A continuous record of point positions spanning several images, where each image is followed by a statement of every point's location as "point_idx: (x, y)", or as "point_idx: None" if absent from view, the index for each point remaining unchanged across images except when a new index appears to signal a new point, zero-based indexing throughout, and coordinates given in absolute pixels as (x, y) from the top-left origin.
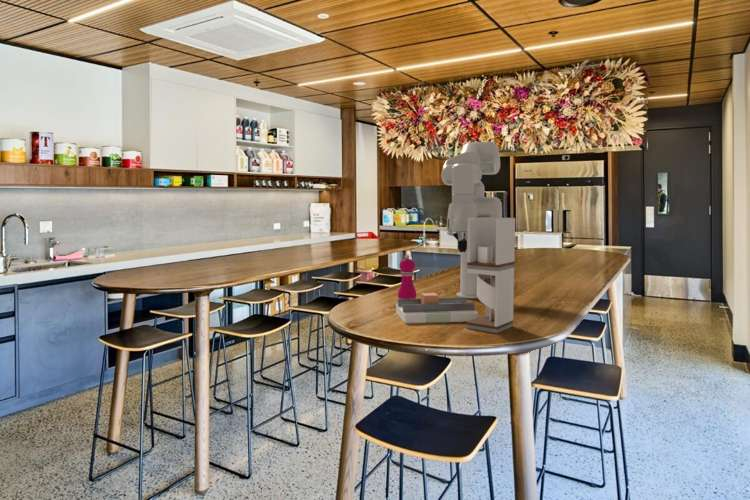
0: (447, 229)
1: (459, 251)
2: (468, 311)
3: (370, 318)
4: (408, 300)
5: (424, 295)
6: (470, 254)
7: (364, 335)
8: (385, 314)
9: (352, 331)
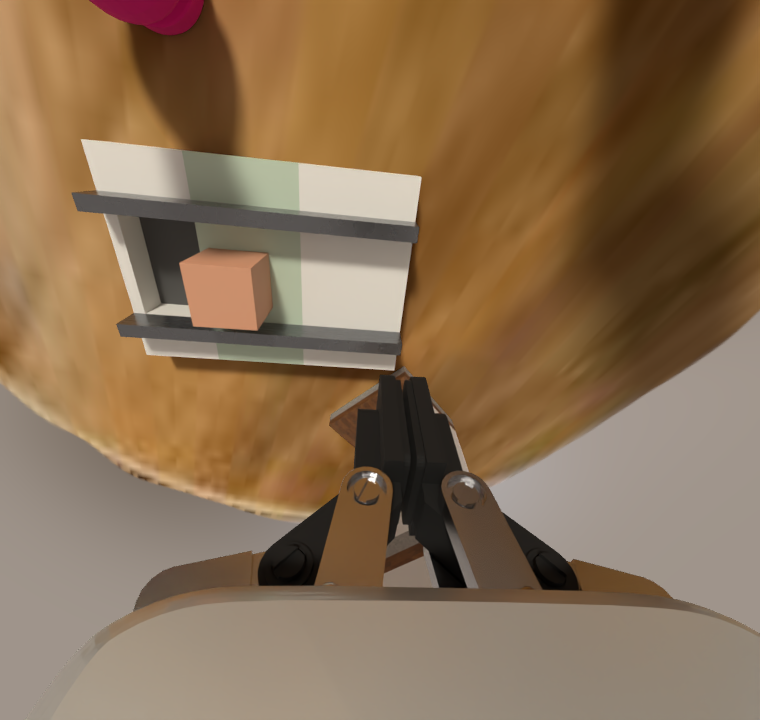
0: (87, 651)
1: (378, 391)
2: (369, 355)
3: (20, 244)
4: (135, 215)
5: (194, 320)
6: None
7: (64, 428)
8: (67, 181)
9: (17, 392)
